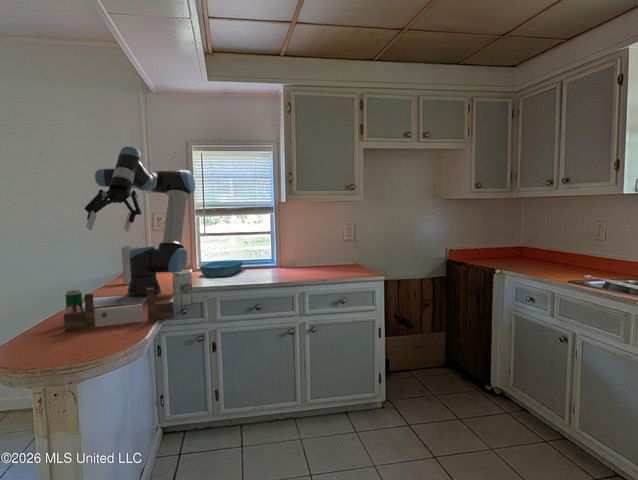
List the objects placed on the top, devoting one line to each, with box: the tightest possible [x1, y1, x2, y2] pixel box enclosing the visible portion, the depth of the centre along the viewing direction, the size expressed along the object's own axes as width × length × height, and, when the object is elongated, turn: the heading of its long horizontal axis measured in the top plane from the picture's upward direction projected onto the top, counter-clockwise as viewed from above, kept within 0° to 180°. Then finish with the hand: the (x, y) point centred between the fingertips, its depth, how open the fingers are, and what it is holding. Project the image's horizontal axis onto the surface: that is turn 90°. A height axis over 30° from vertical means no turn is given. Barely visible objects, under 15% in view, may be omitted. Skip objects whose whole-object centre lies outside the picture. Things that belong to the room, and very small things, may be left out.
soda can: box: [64, 289, 84, 313], centre depth 147 cm, size 5×5×12 cm
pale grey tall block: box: [121, 245, 138, 286], centre depth 227 cm, size 7×6×21 cm
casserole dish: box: [199, 259, 244, 278], centre depth 260 cm, size 37×22×7 cm, turn 176°
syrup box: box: [172, 270, 193, 308], centre depth 173 cm, size 6×6×14 cm
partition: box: [63, 288, 175, 333], centre depth 145 cm, size 3×35×12 cm, turn 116°
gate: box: [95, 303, 144, 328], centre depth 144 cm, size 15×3×6 cm, turn 116°
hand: (107, 229), depth 148 cm, fingers open, 13 cm apart
